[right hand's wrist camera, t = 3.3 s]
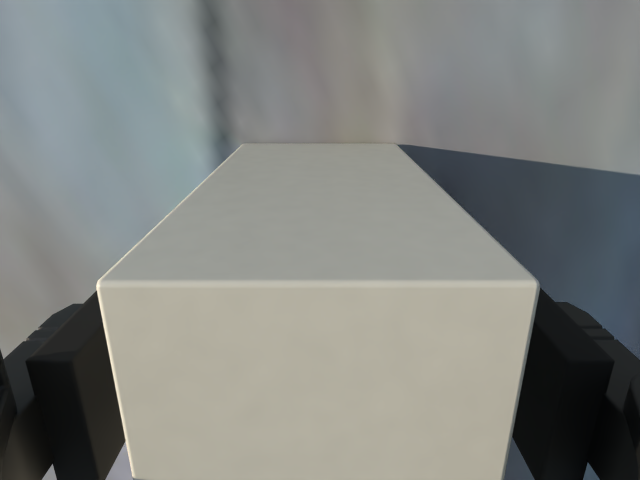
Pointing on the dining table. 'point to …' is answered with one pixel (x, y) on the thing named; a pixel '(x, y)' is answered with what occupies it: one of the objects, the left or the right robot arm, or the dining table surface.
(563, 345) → the right robot arm
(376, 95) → the dining table surface
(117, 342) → the bar
